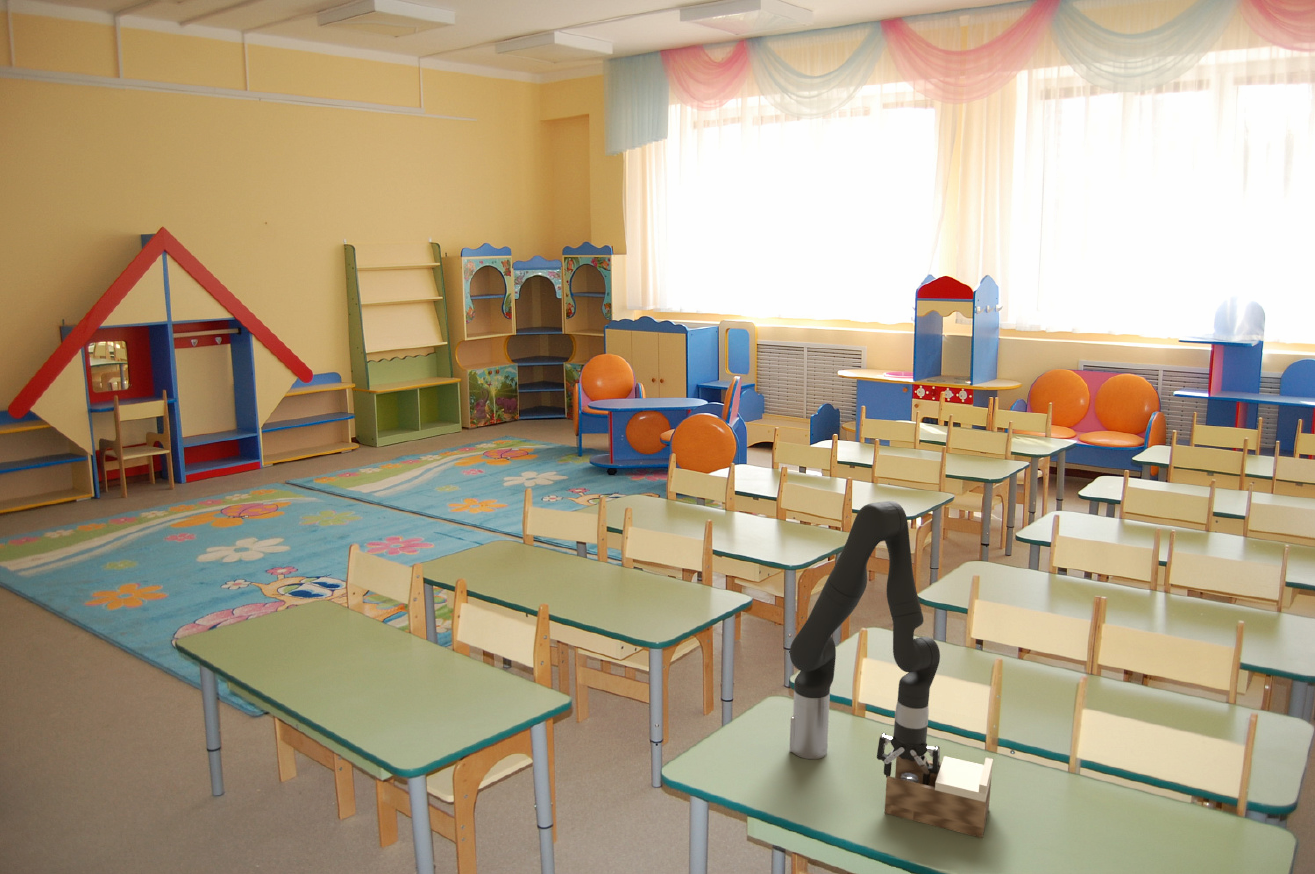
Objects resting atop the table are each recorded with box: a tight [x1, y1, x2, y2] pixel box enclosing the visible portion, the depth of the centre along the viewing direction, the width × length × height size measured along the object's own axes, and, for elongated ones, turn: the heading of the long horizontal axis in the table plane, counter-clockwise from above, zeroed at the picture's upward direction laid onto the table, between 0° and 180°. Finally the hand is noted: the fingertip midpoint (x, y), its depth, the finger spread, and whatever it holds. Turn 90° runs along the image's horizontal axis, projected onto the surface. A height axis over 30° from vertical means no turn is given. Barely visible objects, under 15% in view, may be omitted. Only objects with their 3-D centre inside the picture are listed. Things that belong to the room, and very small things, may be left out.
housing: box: [884, 756, 992, 839], centre depth 225 cm, size 22×12×9 cm, turn 65°
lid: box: [935, 755, 994, 802], centre depth 222 cm, size 11×12×4 cm
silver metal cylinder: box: [901, 773, 918, 783], centre depth 228 cm, size 4×4×7 cm
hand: (906, 781), depth 228 cm, fingers open, 8 cm apart
